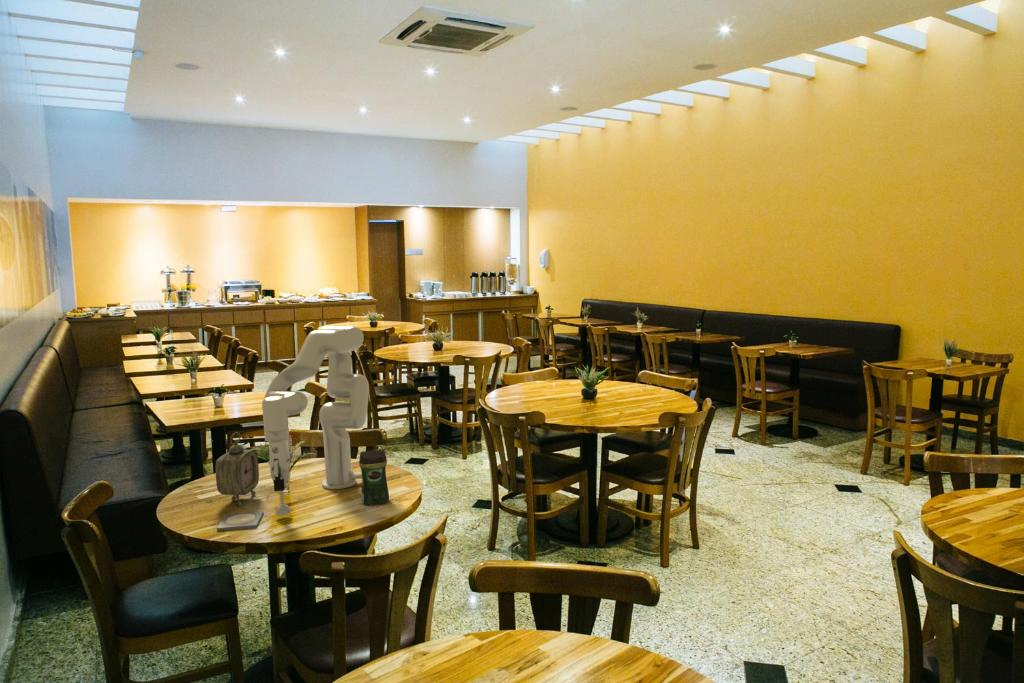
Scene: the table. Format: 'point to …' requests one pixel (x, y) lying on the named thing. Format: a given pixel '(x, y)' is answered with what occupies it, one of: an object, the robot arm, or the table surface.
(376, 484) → the coffee jar
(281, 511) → the chalice
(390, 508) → the table surface
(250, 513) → the plate
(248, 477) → the tabletop clock
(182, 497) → the table surface
